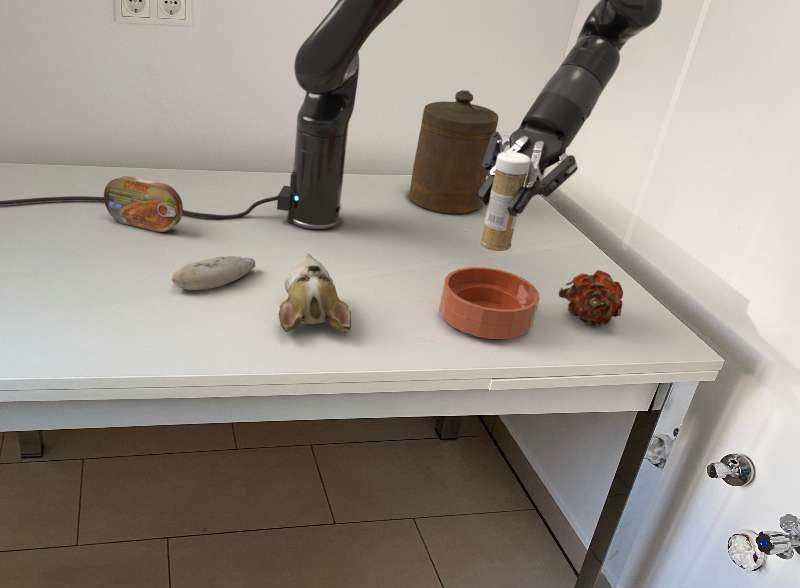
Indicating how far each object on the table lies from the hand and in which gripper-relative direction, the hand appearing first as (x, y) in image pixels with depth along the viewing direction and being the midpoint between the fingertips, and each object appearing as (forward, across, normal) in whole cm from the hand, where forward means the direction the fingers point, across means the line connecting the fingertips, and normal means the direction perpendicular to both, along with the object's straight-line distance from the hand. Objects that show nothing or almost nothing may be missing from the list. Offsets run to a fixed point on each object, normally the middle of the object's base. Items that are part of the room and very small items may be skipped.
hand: (496, 207), depth 111 cm
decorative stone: (+30, -34, -4) cm, 45 cm away
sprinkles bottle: (+3, 0, +6) cm, 7 cm away
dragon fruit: (+2, +11, +25) cm, 27 cm away
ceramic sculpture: (+27, -16, -1) cm, 31 cm away
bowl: (+12, +1, +14) cm, 19 cm away
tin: (+27, -58, -1) cm, 64 cm away
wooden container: (-13, -34, +40) cm, 54 cm away
